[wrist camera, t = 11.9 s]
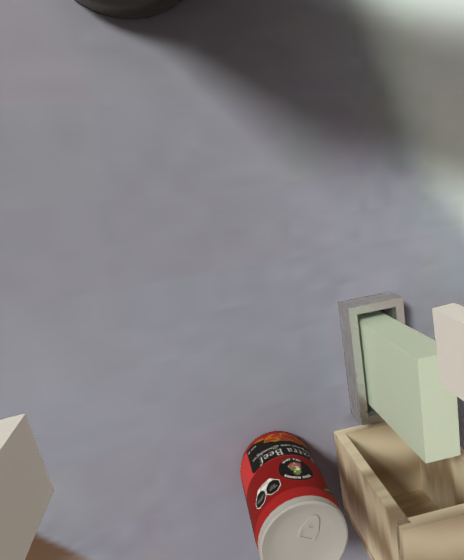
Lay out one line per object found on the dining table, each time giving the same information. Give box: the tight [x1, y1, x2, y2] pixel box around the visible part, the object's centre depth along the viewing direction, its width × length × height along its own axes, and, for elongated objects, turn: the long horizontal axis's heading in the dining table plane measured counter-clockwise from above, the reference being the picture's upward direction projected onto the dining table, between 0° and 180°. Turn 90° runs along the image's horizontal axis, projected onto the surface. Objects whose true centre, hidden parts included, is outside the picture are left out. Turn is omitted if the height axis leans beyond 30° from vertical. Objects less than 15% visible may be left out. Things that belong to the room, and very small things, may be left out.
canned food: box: [240, 431, 348, 560], centre depth 39 cm, size 8×8×11 cm
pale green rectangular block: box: [357, 311, 461, 463], centre depth 38 cm, size 9×4×12 cm, turn 10°
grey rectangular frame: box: [338, 292, 405, 425], centre depth 43 cm, size 13×6×3 cm, turn 10°
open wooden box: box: [334, 420, 464, 560], centre depth 40 cm, size 10×10×14 cm
